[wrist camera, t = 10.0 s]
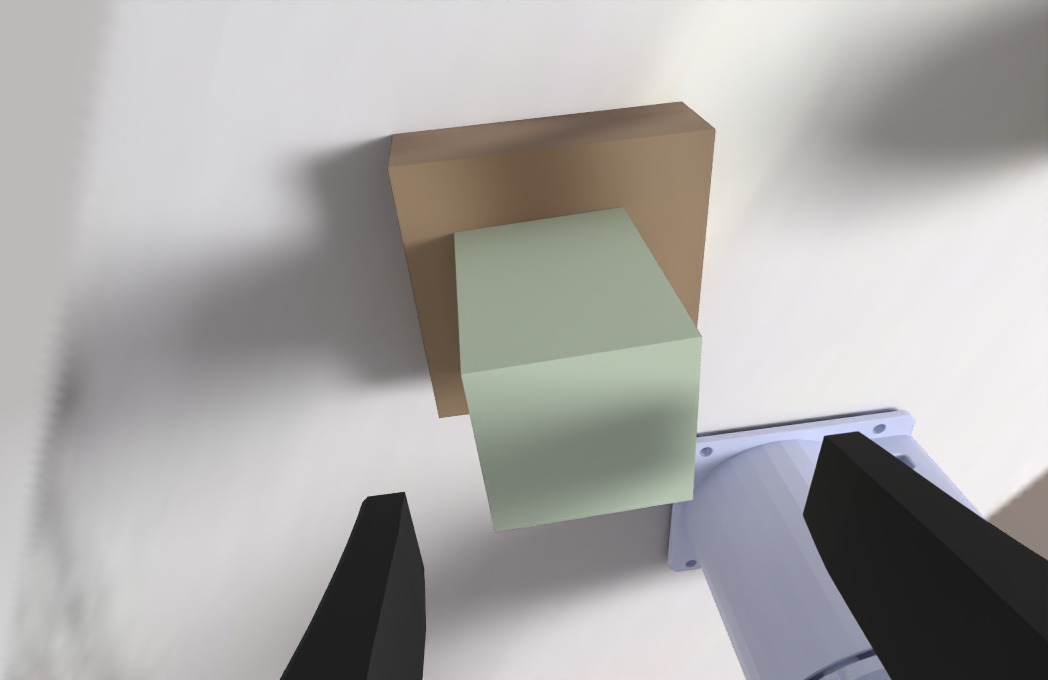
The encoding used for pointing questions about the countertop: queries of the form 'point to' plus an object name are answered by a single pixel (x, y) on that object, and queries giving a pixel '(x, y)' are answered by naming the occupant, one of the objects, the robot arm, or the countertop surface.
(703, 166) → the walnut block
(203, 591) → the countertop surface
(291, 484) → the countertop surface
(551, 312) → the sage block
